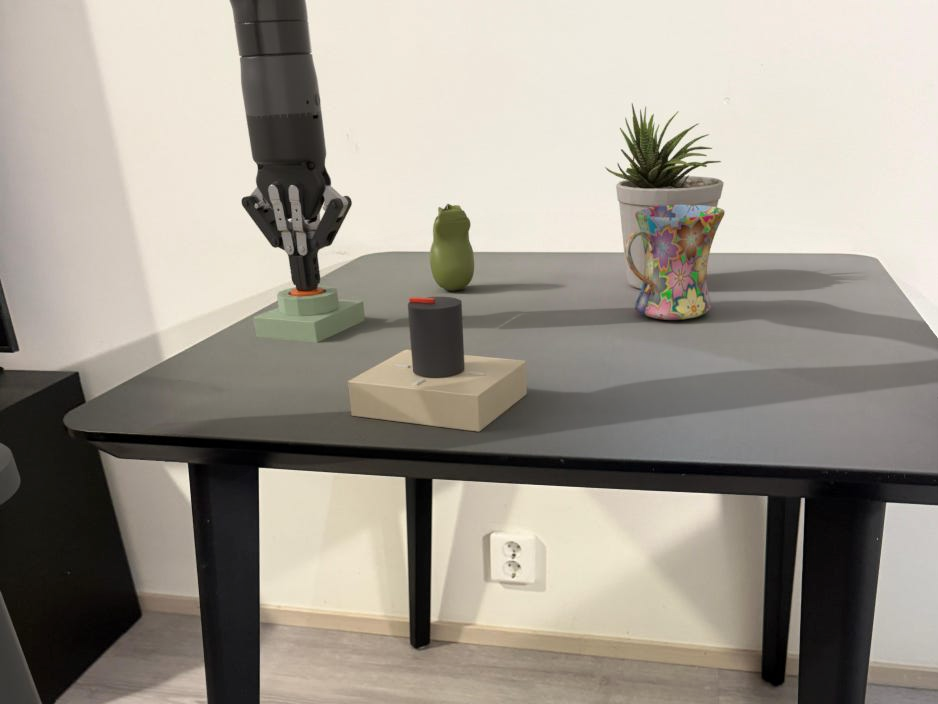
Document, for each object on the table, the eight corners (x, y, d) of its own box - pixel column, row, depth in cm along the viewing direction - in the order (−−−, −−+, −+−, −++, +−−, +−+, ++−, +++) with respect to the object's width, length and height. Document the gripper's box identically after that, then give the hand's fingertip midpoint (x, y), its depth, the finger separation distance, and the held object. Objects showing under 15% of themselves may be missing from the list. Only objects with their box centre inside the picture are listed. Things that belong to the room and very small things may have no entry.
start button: (313, 311, 100) (311, 294, 100) (286, 308, 102) (283, 292, 101) (331, 303, 103) (329, 287, 102) (304, 301, 105) (302, 285, 104)
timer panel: (479, 432, 74) (477, 393, 72) (351, 416, 78) (347, 379, 77) (527, 394, 81) (526, 358, 80) (407, 381, 86) (405, 347, 84)
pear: (470, 284, 121) (466, 200, 115) (480, 292, 116) (476, 205, 111) (428, 288, 119) (423, 203, 114) (436, 296, 115) (431, 209, 110)
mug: (672, 300, 109) (679, 201, 103) (732, 314, 102) (743, 210, 96) (594, 318, 103) (597, 215, 97) (653, 334, 96) (659, 224, 91)
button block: (317, 343, 99) (312, 304, 96) (256, 337, 102) (250, 299, 99) (365, 320, 106) (361, 284, 104) (307, 316, 109) (302, 280, 107)
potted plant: (643, 269, 124) (652, 97, 113) (733, 281, 116) (752, 97, 105) (584, 286, 117) (588, 104, 106) (676, 300, 109) (690, 104, 98)
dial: (472, 364, 79) (469, 294, 76) (452, 379, 76) (448, 306, 73) (425, 360, 81) (420, 291, 77) (404, 375, 77) (398, 303, 74)
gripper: (206, 112, 92) (238, 294, 101) (317, 110, 87) (340, 301, 96) (252, 107, 98) (278, 279, 107) (359, 105, 93) (376, 285, 102)
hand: (307, 289), depth 102 cm, fingers closed
